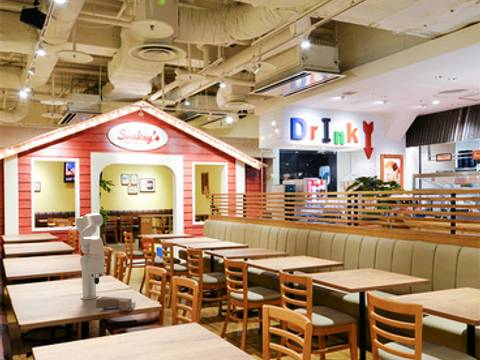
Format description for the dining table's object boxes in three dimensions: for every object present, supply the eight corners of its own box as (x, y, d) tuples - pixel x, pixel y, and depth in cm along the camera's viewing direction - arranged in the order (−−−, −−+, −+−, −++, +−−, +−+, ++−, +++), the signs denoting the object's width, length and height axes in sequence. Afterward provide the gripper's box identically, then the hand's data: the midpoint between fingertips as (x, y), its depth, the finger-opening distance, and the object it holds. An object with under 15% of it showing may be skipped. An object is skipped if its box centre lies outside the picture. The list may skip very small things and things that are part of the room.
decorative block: (95, 308, 301) (125, 310, 299) (96, 299, 302) (126, 301, 300) (102, 305, 312) (131, 307, 310) (103, 296, 313) (131, 298, 310)
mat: (105, 305, 320) (105, 304, 320) (135, 303, 323) (135, 302, 323) (102, 311, 304) (102, 310, 304) (133, 309, 307) (133, 308, 307)
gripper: (83, 258, 309) (84, 285, 308) (106, 256, 311) (107, 284, 310) (85, 256, 316) (86, 283, 316) (108, 255, 318) (109, 282, 318)
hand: (96, 283), depth 313 cm, fingers closed
